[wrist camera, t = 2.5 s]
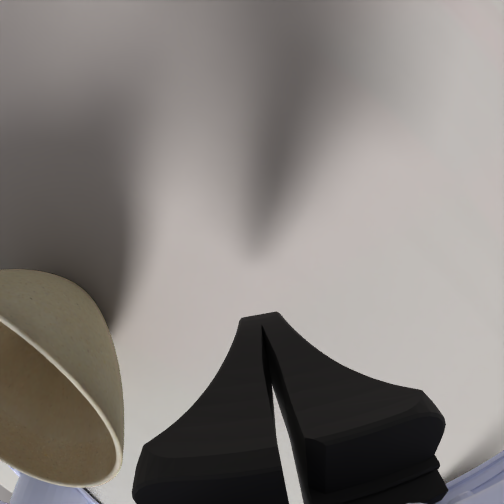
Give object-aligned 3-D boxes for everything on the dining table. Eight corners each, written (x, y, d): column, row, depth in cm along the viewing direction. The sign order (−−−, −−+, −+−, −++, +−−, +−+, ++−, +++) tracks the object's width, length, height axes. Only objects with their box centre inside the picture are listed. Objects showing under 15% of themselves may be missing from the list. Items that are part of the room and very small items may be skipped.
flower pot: (-31, 252, 13) (-114, 308, 6) (113, 202, 13) (25, 262, 6) (39, 393, 16) (-2, 474, 9) (178, 383, 16) (165, 495, 10)
